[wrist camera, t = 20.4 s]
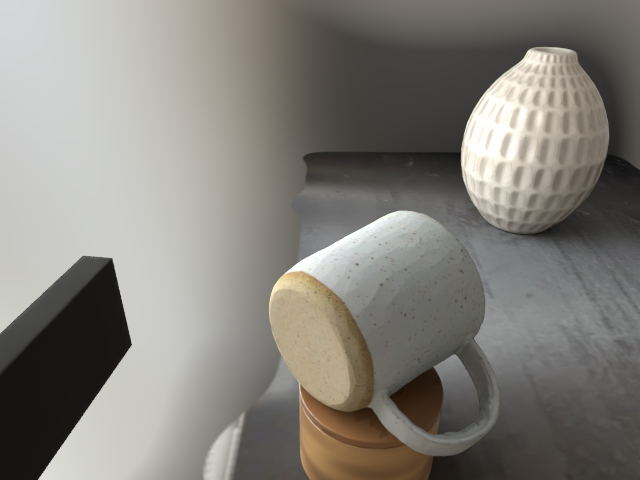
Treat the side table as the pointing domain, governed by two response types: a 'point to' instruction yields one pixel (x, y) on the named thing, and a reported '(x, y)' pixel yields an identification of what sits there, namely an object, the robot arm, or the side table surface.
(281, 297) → the ceramic mug
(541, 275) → the side table surface
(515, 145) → the vase
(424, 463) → the oak stand
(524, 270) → the side table surface
